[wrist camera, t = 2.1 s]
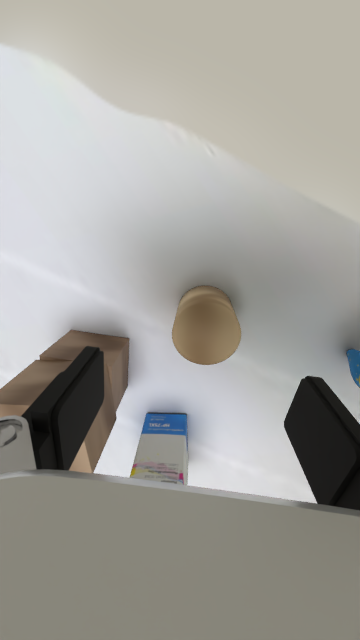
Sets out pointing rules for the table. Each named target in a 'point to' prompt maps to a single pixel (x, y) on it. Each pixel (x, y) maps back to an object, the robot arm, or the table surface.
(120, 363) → the bottom block
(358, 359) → the ornament
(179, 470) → the ink box
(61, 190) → the table surface
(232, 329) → the beige knob
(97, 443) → the top block
